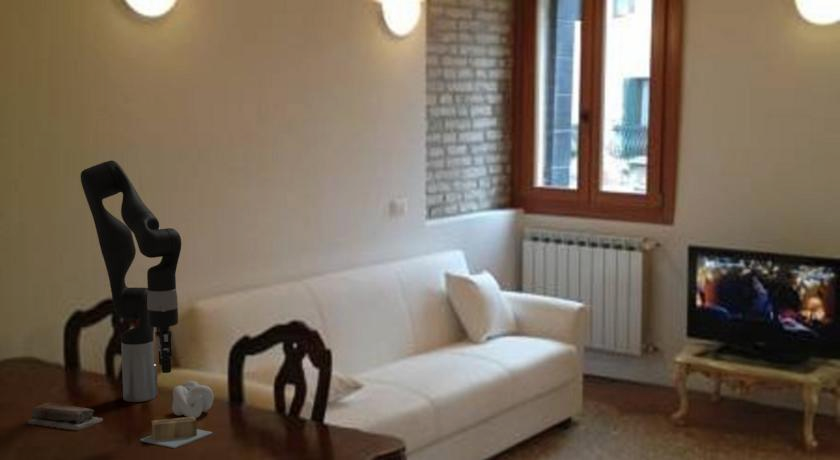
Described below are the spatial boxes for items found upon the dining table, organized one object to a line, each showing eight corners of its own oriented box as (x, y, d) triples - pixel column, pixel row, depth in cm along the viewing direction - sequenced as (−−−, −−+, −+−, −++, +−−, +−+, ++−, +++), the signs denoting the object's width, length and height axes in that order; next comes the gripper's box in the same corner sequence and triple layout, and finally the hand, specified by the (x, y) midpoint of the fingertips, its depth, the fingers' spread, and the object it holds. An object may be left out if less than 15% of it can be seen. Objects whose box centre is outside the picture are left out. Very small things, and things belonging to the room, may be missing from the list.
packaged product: (25, 408, 276) (51, 398, 285) (26, 425, 276) (52, 415, 286) (77, 414, 269) (103, 405, 278) (78, 432, 270) (103, 422, 279)
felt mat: (179, 426, 272) (179, 425, 272) (212, 433, 266) (212, 432, 266) (140, 441, 260) (140, 439, 260) (174, 448, 254) (174, 446, 254)
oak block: (151, 420, 263) (194, 416, 267) (152, 435, 264) (194, 431, 267) (152, 425, 259) (196, 420, 263) (153, 440, 260) (196, 435, 263)
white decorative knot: (159, 415, 283) (158, 384, 283) (195, 406, 292) (194, 376, 291) (182, 423, 276) (181, 391, 275) (219, 414, 285) (218, 382, 284)
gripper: (145, 302, 264) (147, 363, 266) (149, 312, 251) (152, 376, 253) (174, 300, 267) (176, 361, 269) (180, 310, 254) (182, 373, 255)
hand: (164, 368), depth 261 cm, fingers open, 8 cm apart
